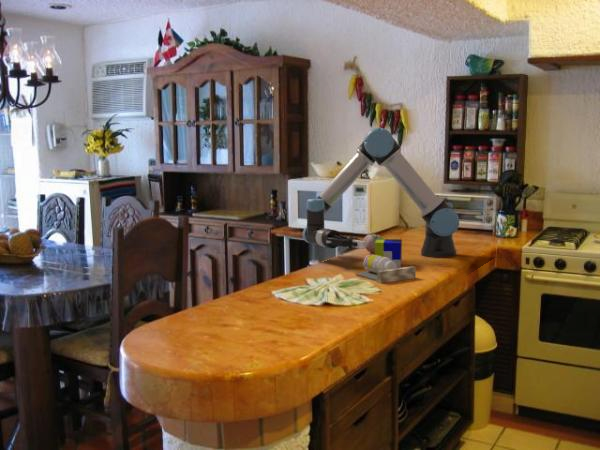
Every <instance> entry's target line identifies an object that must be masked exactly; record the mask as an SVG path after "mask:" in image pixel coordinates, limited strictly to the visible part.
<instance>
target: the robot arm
mask: <svg viewBox="0 0 600 450" xmlns="http://www.w3.org/2000/svg"><path fill="white" fill-rule="evenodd" d="M375 162H376V164H377V165H378V166H379V167H384V168H385V169H386V171H388V172H389V174H390V175H391V176H392V177H393V179H395V181H396V182H397V183H398V184H399V186H400V187H401V188H402V189H403V191H405V193H406V194H407V196H408V197H409V198H410V199H411V200H412V202H413V203H414V204H415V205H416V206H417V207H418V209H419V210H420V217H421V218H422V219H423V221H424V222H425V227H424V229H425V231H424V232H425V233H424V234H425V235H424V240H423V244H422V247H421V249H420V255H422V256H424V257H429V258H451V257H455V256H457V249H456V247H455V243H454V239H453V234H454V233H456V232H457V230H458V228H459V225H460V217H459V214H458V213H457V212H456V211H455V210H454V205H453V203H452V202H447V201H446V200H445V199H444V198H443V197H442V198H441V197H437V195H436V194H435V193H434V192H433V190H432V189H431V188H430V186H429V185H428V184H427V183H426V182H425V181H424V179H423V178H422V177H421V176H420V174H419V173H418V172H417V170H416V169H415V168H414V167H413V166H412V164H410V162H409V161H408V160H407V159H406V157H405V156H404V155H403V154H402V146H401V145H399V143H398V142H397V141H396V139H395V138H394V136H393V135H392V133H391V132H390V131H389V130H388V129H386V128H384V127H374V128H371V129H370V130H369V131H368V132H367V133H366V135H365V137H364V139H363V141H362V143H361V144H360V145H359V146H358V147H357V149H356V153H355V154H354V155H353V156H352V158H351V159H350V160H349V161H348V162H347V163H346V165H344V166H343V168H342V169H341V170H340V171H339V172H338V173H337V174H336V176H335V177H334V178H333V179H332V180H331V181H330V182H329V183H328V185H327V186H326V187H325V188H324V189H323V190H322V191H321V193H320V194H318V196H317V197H316V198H309V199H307V201H306V207H305V208H306V226H305V227H304V228H303V230H302V236H301V237H302V238H303V241H305V242H306V243H308V244H311V245H315V246H316V245H317V246H320V247H323V248H324V249H326V248H330V249H336V248H338V247H345V248H347V247H348V249H349V250H351V249H353V248H357V249H360V250H361V249H362V250H367V249H366V242H365V241H363V240H360V238H358V237H354V236H353V235H350V236H346V235H343V234H341V233H340V232H339V231H338V230H336V229H330V228H325V215H326V213H327V212H328V211H329V210H331V208H332V207H333V206H334V205H335V204H336V203H337V201H338V200H339V199H340V198H341V197H342V195H343V194H344V193H345V192H346V191H347V190H348V189H349V188H350V187H351V186H352V185H353V183H355V182H356V180H357V179H358V178H359V177H360V176H361V175H362V173H364V171H365V170H366V169H367V168H368V167H369V166H370V165H372V164H373V165H374V164H375Z"/></svg>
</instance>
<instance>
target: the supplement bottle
mask: <svg viewBox="0 0 600 450" xmlns="http://www.w3.org/2000/svg"><path fill="white" fill-rule="evenodd" d="M363 267H364V270H366V271H367V272H373V273H377V271H381V270H389V269H396V263H395V262H393V261H391V259H389V258H387V257H383V256H378V255H375V253H374V254H372V253H370V254H368V255H366V256H365V257H364V260H363Z"/></svg>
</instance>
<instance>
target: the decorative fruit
mask: <svg viewBox="0 0 600 450" xmlns="http://www.w3.org/2000/svg"><path fill="white" fill-rule="evenodd" d="M377 239H383V238H382V237H381V236H380V235H379V234H375V233H368V234H367V235H366V236H364V238H363V240H362V241H365V242H366V249H365V250H366V251H367V252H369V253H370V254H374V255H375V242H376V240H377Z"/></svg>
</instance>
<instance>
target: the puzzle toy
mask: <svg viewBox="0 0 600 450" xmlns="http://www.w3.org/2000/svg"><path fill="white" fill-rule="evenodd" d="M402 247H403V244H402V239H398V238H397V239H395V238H394V239H391V238H390V239H389V238H382V239H377V240H376V242H375V253H374V255H378V256H383V257H387V258H389V259H391V261H393V262H395V263H396V268H402V260H403V259H402V256H403V255H402Z"/></svg>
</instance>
